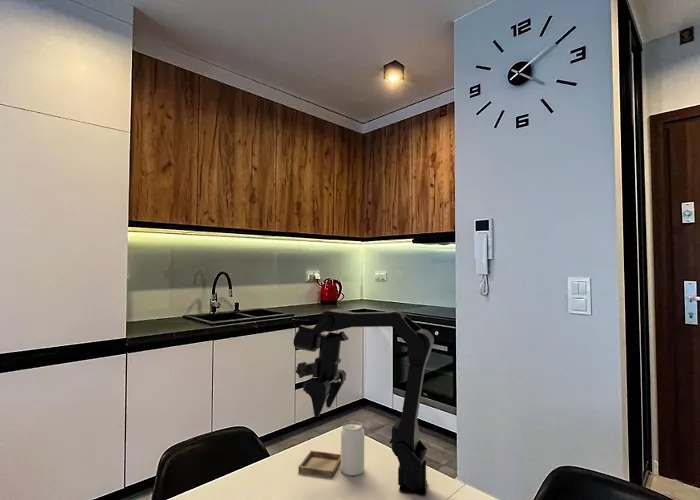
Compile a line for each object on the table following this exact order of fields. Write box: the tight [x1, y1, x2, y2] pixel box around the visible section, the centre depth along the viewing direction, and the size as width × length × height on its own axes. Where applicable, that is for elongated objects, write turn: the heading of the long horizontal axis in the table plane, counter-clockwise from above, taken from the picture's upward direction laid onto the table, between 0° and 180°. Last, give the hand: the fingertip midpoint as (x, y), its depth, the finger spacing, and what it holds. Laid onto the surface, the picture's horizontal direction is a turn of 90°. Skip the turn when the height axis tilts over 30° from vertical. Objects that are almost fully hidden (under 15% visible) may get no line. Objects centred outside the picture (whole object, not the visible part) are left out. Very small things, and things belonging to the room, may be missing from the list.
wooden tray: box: [298, 450, 341, 478], centre depth 107 cm, size 10×10×2 cm
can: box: [340, 421, 365, 477], centre depth 105 cm, size 6×6×12 cm
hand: (322, 411), depth 105 cm, fingers open, 9 cm apart
